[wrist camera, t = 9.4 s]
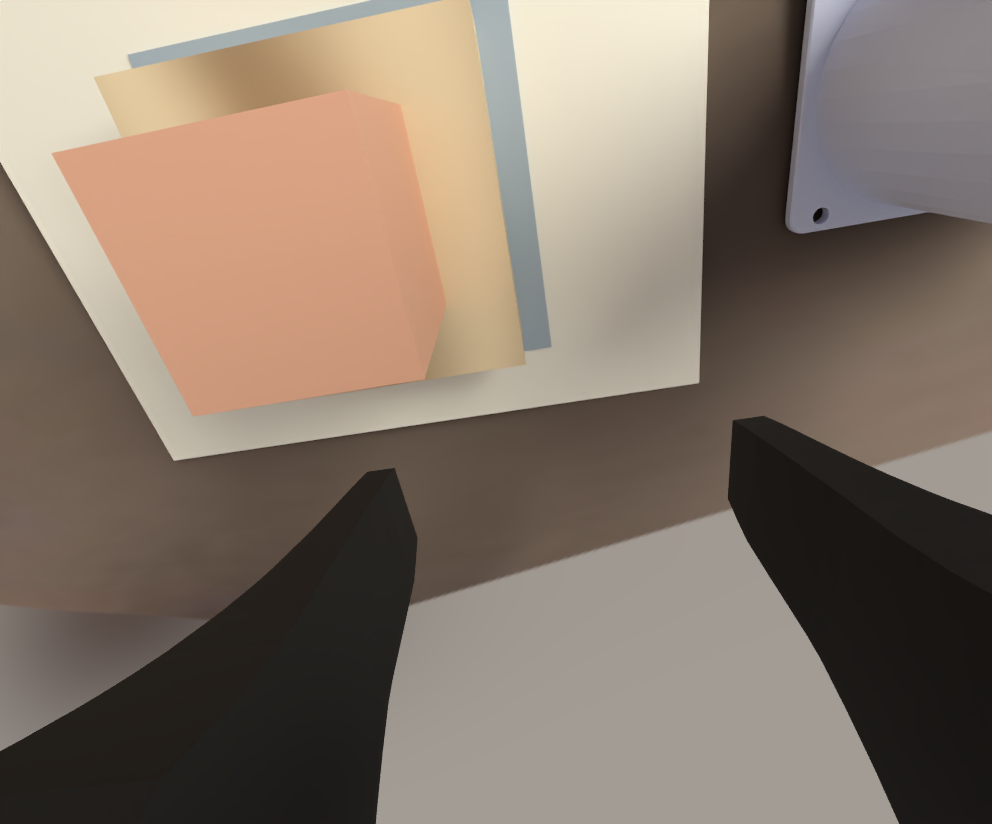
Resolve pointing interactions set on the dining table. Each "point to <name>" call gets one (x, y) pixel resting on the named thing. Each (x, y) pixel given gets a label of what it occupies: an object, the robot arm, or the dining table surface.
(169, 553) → the dining table surface
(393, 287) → the terracotta cube
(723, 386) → the dining table surface
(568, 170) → the board
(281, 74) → the oak base brick
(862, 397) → the dining table surface
